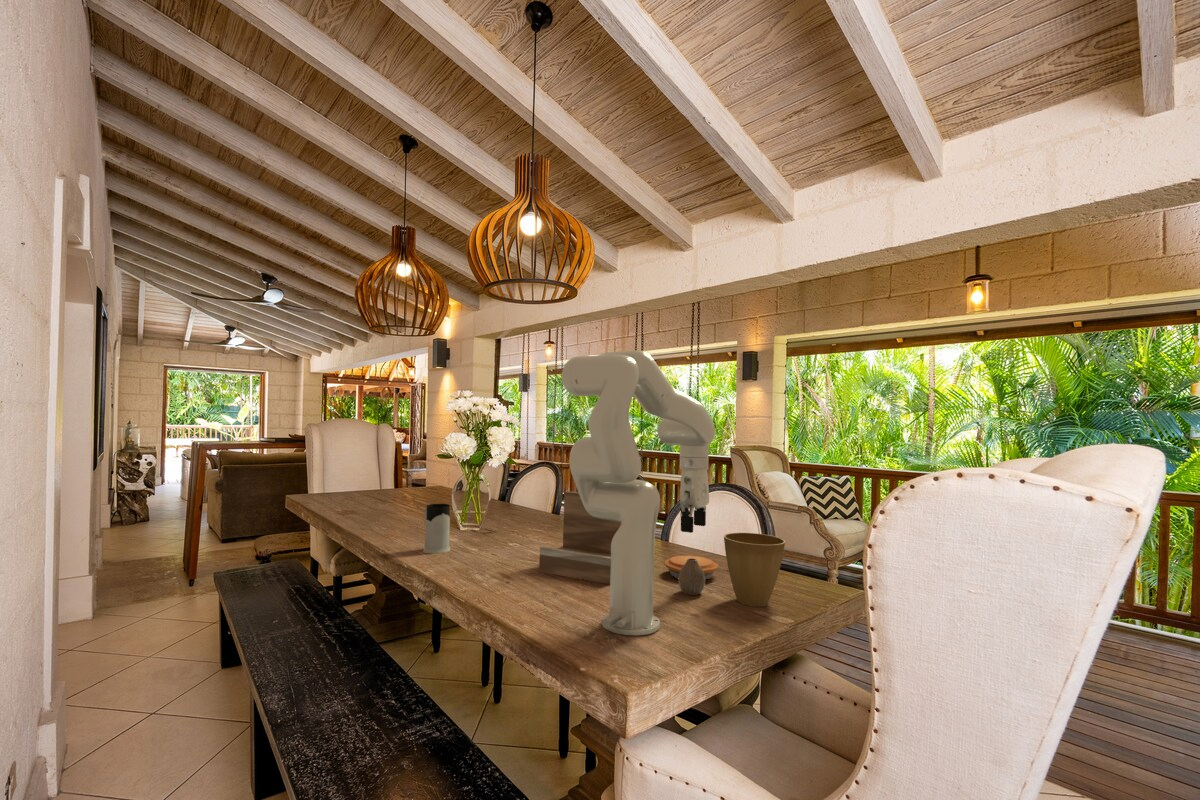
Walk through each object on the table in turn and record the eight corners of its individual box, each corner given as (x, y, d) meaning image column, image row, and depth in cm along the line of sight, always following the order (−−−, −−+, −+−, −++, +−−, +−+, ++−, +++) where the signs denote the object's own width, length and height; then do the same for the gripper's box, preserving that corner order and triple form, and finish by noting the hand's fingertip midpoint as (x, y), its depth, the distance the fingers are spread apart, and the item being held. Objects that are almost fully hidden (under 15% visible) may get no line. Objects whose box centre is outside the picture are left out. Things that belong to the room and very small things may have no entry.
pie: (673, 566, 174) (674, 550, 174) (723, 573, 167) (723, 556, 167) (656, 578, 160) (657, 561, 160) (710, 586, 153) (710, 568, 153)
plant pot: (756, 616, 130) (757, 546, 131) (710, 598, 143) (711, 535, 143) (797, 605, 138) (797, 540, 139) (750, 589, 151) (751, 530, 151)
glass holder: (429, 554, 181) (431, 508, 182) (412, 546, 192) (413, 502, 192) (454, 551, 187) (456, 506, 188) (436, 543, 198) (437, 500, 198)
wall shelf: (611, 584, 152) (613, 503, 153) (539, 571, 164) (541, 496, 165) (634, 573, 165) (636, 497, 166) (565, 561, 177) (567, 491, 178)
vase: (710, 595, 145) (710, 561, 145) (686, 598, 142) (687, 563, 143) (695, 588, 151) (696, 555, 152) (673, 590, 149) (674, 557, 149)
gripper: (696, 467, 139) (696, 536, 138) (717, 462, 154) (717, 524, 154) (668, 465, 142) (667, 532, 142) (691, 460, 158) (691, 521, 157)
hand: (693, 528), depth 148 cm, fingers open, 9 cm apart
